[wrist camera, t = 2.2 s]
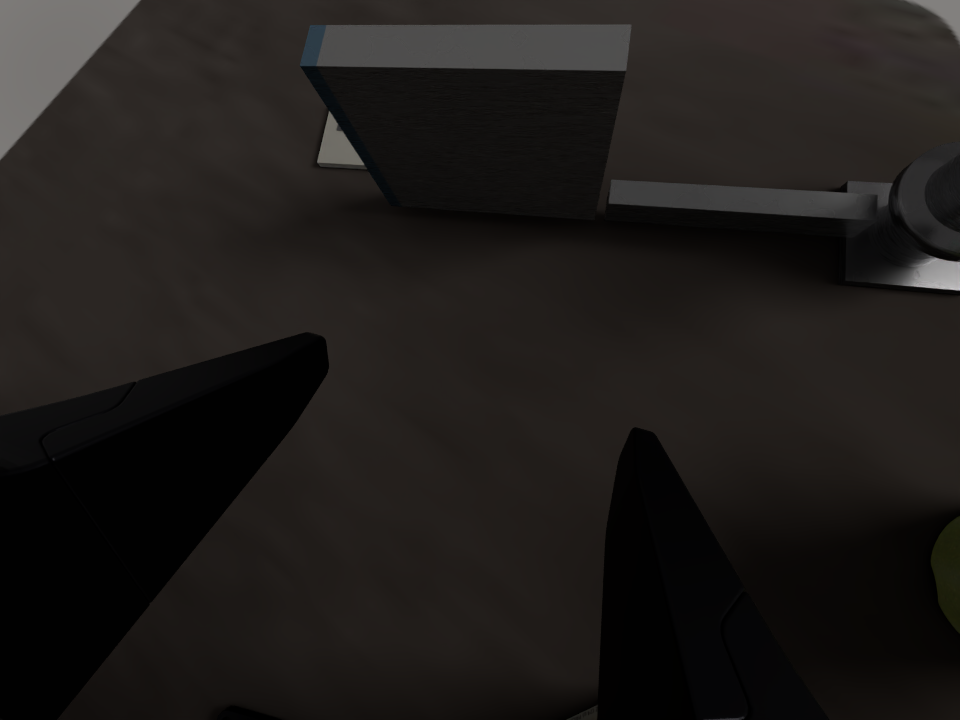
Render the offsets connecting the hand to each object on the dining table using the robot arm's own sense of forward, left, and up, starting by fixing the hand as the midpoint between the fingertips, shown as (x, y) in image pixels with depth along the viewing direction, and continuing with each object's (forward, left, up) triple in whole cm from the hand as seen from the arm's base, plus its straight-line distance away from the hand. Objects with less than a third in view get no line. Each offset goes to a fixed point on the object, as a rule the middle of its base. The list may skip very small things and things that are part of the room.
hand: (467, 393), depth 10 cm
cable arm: (+3, +11, -12) cm, 16 cm away
